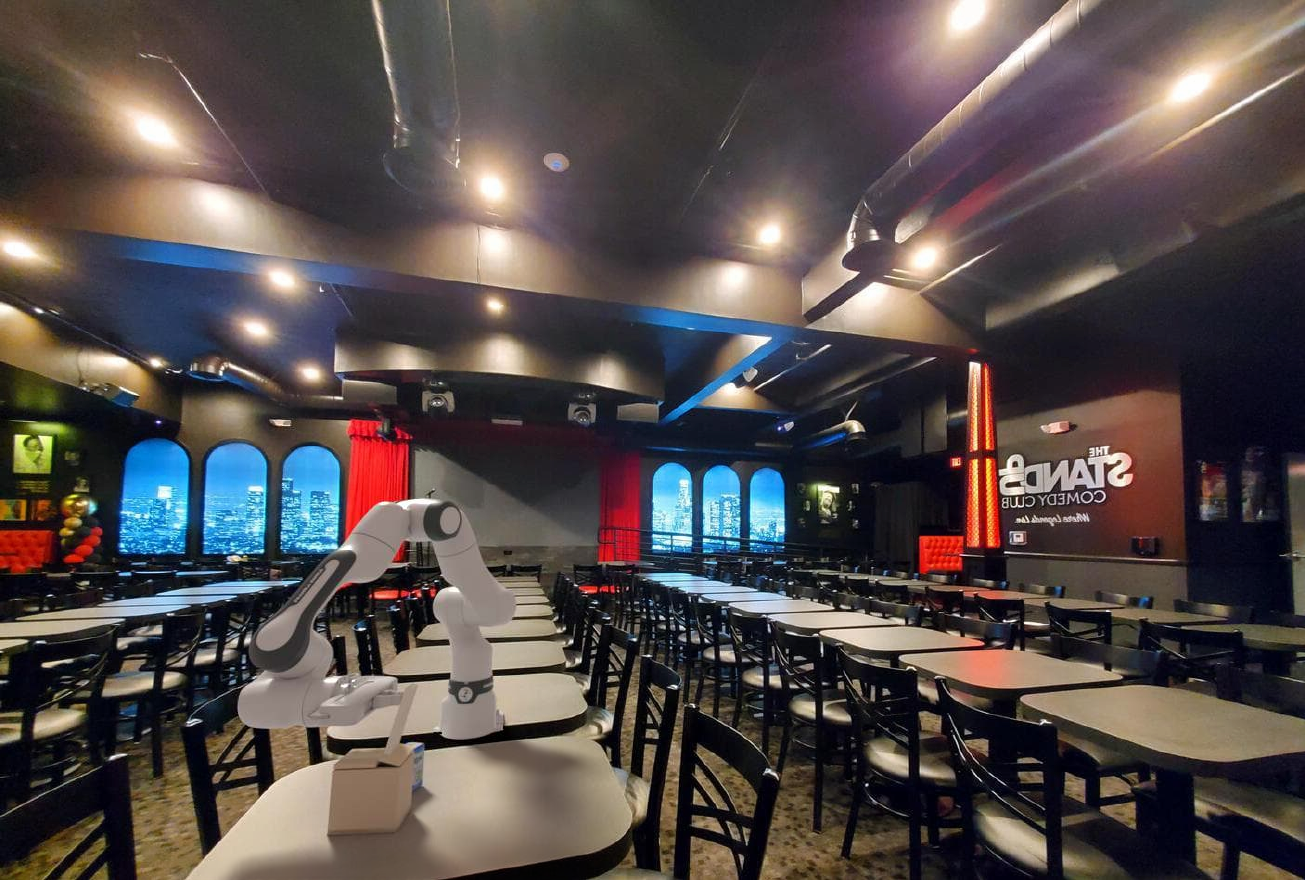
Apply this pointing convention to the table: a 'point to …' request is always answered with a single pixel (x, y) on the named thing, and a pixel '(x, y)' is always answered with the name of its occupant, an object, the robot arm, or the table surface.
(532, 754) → the table surface
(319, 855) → the table surface
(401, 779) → the carton
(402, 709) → the flap
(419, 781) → the medicine box
